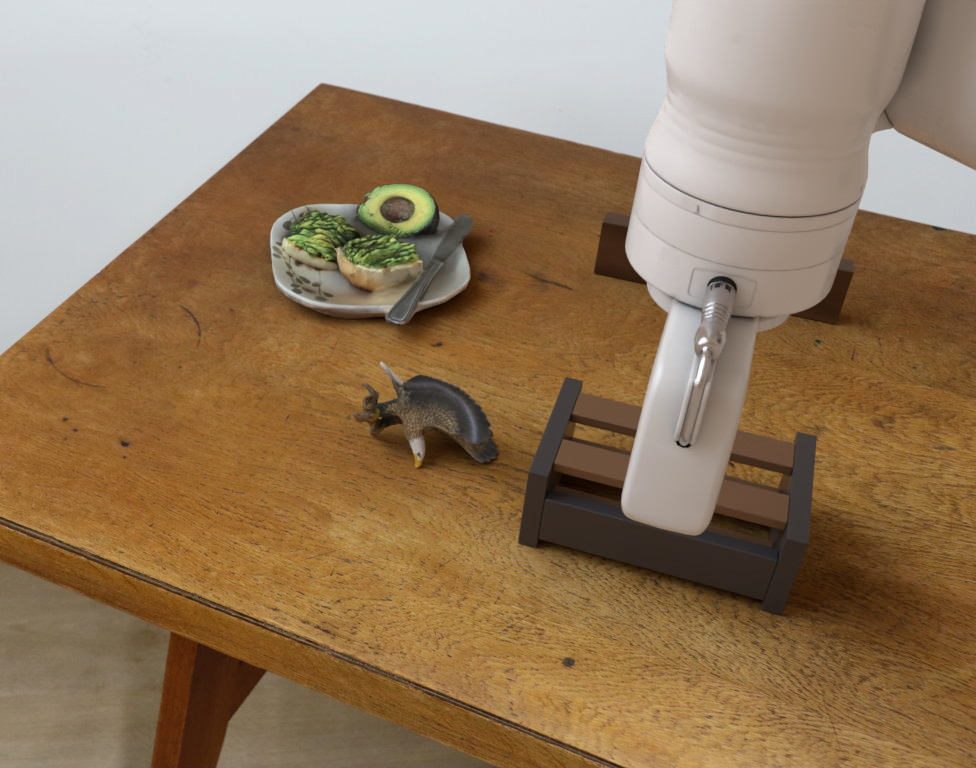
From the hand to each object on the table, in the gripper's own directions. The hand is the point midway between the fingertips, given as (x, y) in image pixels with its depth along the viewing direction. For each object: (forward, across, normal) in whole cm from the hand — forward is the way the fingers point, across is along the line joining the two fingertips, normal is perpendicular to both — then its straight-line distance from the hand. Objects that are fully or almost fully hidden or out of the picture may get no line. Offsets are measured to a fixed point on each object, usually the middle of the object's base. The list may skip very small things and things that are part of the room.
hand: (671, 471), depth 55 cm
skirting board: (+13, +40, 0) cm, 42 cm away
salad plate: (+13, +32, +28) cm, 45 cm away
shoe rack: (+13, +10, 0) cm, 16 cm away
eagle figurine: (+13, +12, +16) cm, 24 cm away
